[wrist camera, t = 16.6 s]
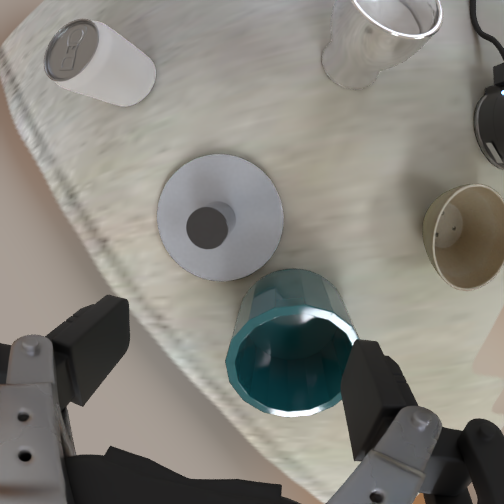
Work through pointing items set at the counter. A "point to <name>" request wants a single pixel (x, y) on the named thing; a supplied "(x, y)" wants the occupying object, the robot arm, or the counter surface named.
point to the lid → (220, 217)
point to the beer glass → (376, 37)
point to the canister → (290, 344)
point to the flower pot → (466, 235)
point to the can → (99, 63)
